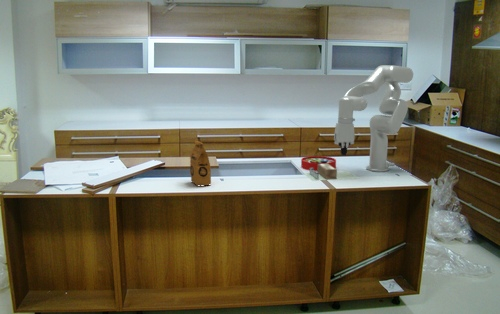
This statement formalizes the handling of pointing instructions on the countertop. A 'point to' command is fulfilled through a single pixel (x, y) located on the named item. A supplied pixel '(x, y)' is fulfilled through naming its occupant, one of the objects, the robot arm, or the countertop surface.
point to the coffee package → (200, 165)
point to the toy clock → (316, 162)
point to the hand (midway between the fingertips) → (343, 154)
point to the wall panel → (339, 176)
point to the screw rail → (314, 173)
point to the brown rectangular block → (327, 171)
